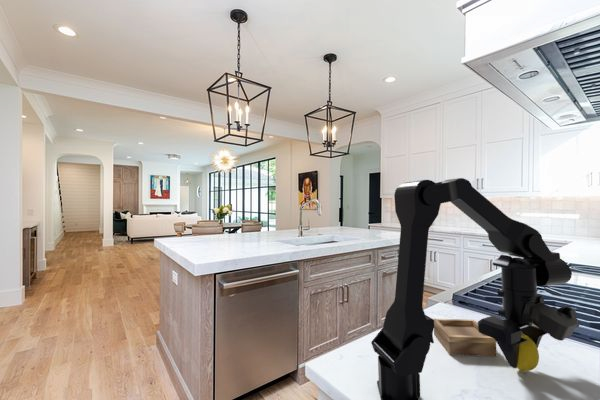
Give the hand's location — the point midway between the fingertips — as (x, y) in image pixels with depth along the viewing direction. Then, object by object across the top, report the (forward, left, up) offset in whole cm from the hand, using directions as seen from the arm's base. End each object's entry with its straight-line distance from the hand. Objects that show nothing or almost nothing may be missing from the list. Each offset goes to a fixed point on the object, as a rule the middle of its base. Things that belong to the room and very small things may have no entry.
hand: (521, 363), depth 58 cm
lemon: (0, 0, -2) cm, 2 cm away
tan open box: (-7, +10, -2) cm, 13 cm away
